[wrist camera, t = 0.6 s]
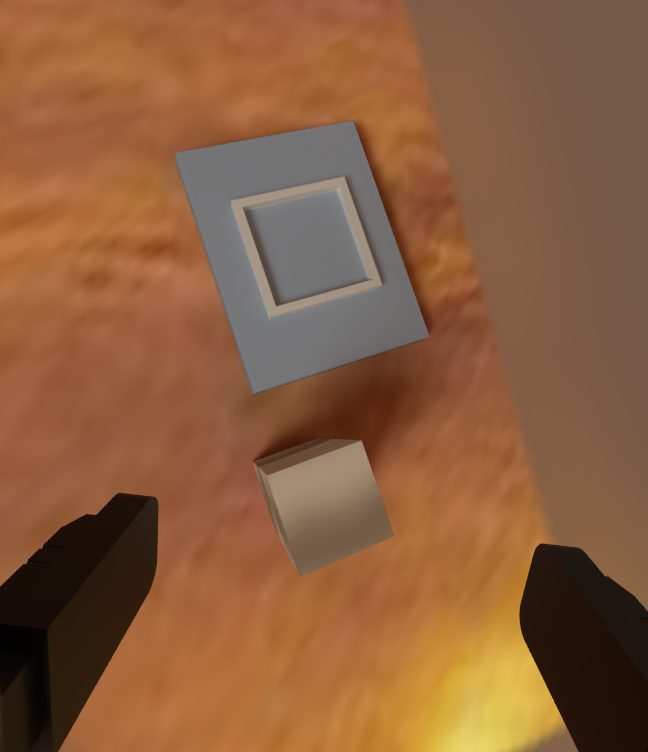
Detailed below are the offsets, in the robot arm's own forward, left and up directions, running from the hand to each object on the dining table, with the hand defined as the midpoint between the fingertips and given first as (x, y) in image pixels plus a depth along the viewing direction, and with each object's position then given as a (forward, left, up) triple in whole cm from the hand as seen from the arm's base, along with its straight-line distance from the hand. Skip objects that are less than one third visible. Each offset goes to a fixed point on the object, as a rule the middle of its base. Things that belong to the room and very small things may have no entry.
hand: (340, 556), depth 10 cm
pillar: (+2, +2, -24) cm, 24 cm away
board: (-14, +8, -23) cm, 29 cm away
